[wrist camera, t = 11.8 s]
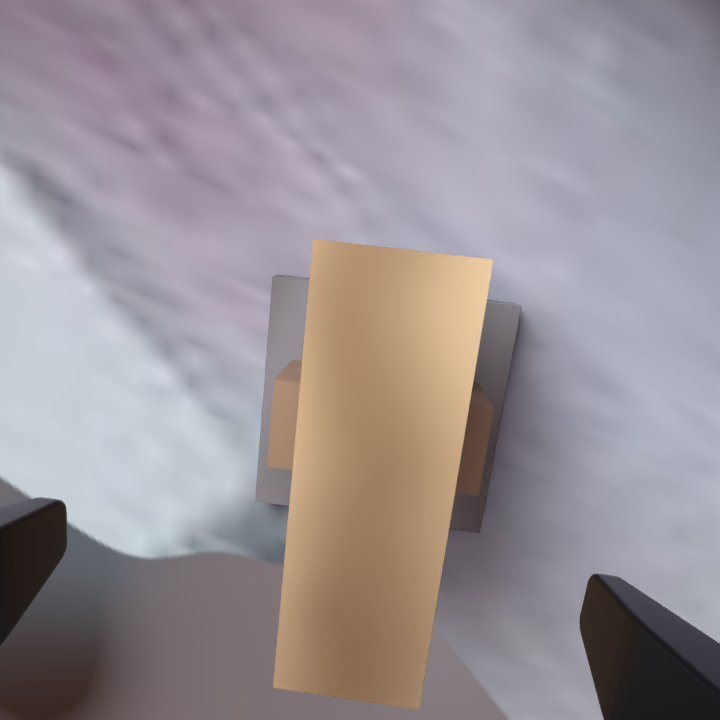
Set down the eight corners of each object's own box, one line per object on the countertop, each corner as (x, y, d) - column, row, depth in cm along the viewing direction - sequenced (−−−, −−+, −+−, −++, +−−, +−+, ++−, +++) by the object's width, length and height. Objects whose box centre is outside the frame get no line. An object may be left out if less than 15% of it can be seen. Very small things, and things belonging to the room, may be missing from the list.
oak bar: (468, 256, 15) (493, 259, 11) (414, 608, 18) (418, 709, 14) (334, 241, 15) (312, 238, 11) (300, 592, 18) (273, 687, 14)
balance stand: (515, 303, 19) (544, 317, 15) (475, 520, 21) (493, 580, 17) (278, 274, 20) (249, 281, 16) (261, 489, 22) (231, 543, 18)
